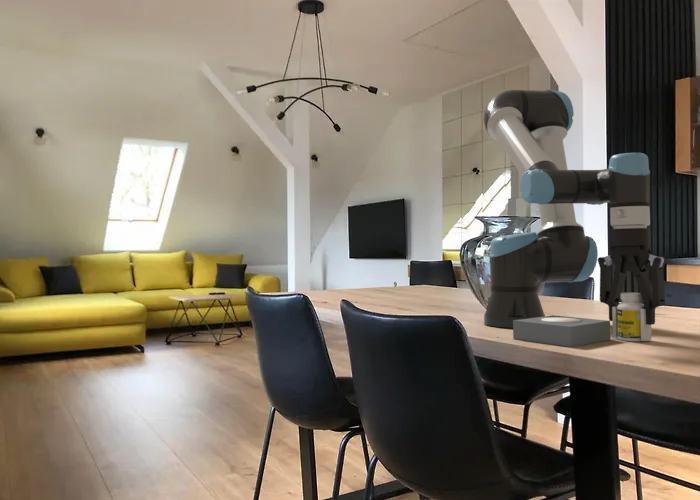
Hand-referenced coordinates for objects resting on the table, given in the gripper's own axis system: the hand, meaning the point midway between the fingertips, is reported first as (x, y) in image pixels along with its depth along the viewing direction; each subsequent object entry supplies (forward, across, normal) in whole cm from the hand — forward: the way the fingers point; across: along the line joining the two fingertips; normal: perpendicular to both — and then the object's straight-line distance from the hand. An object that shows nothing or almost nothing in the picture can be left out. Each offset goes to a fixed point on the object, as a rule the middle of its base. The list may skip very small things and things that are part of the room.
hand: (631, 338), depth 123 cm
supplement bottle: (+1, 0, 0) cm, 1 cm away
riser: (0, -10, -10) cm, 14 cm away
